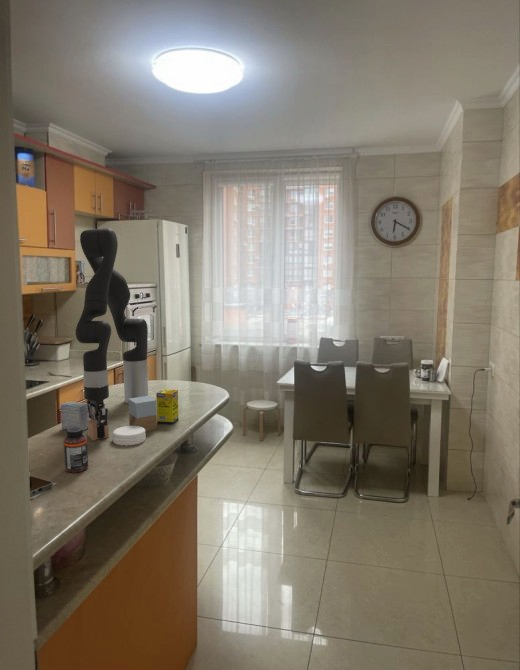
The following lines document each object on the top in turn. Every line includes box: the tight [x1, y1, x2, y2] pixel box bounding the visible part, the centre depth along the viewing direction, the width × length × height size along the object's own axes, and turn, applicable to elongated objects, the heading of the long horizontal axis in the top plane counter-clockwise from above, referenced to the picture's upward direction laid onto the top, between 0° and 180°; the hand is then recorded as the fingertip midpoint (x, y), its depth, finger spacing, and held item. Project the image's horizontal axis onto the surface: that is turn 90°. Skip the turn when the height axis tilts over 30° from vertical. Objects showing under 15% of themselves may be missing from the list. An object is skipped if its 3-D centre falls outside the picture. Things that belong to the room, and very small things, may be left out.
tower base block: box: [128, 412, 158, 432], centre depth 178 cm, size 7×7×5 cm
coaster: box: [112, 425, 147, 447], centre depth 166 cm, size 10×10×4 cm
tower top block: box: [128, 395, 157, 418], centre depth 177 cm, size 7×7×5 cm
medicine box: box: [60, 401, 90, 432], centre depth 177 cm, size 8×4×9 cm, turn 71°
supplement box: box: [155, 388, 179, 425], centre depth 184 cm, size 6×6×11 cm
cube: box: [87, 419, 110, 441], centre depth 170 cm, size 5×5×5 cm
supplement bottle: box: [63, 427, 89, 474], centre depth 143 cm, size 6×6×11 cm
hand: (98, 435), depth 170 cm, fingers closed on cube, 5 cm apart
